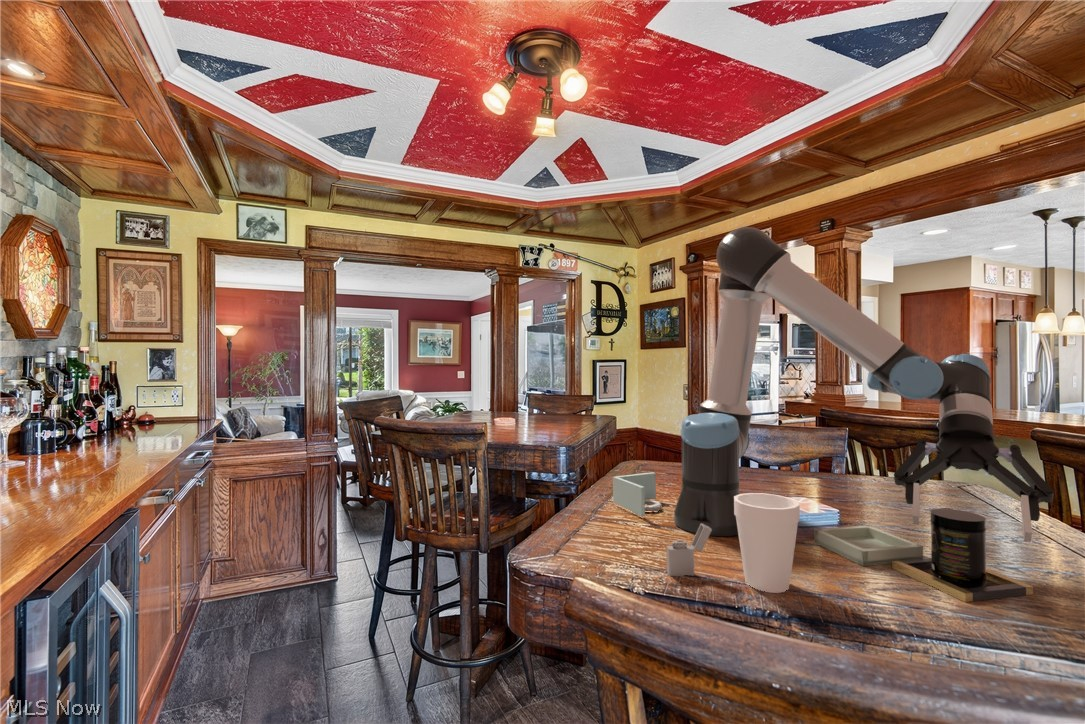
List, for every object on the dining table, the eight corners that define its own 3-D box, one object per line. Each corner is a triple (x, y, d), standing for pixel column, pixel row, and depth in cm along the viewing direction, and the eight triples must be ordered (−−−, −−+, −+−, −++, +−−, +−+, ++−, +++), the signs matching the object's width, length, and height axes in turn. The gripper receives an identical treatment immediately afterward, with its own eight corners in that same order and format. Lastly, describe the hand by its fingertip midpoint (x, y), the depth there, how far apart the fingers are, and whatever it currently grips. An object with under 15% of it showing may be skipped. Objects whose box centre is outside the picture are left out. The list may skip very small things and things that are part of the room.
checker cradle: (965, 602, 71) (965, 593, 71) (892, 568, 83) (892, 561, 83) (1032, 594, 73) (1032, 586, 73) (952, 562, 85) (952, 555, 85)
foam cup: (724, 572, 82) (723, 493, 82) (777, 569, 83) (776, 492, 83) (753, 599, 72) (752, 510, 73) (813, 596, 73) (812, 508, 73)
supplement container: (994, 594, 73) (993, 523, 73) (937, 585, 76) (936, 517, 76) (978, 576, 79) (977, 511, 80) (926, 569, 82) (925, 506, 83)
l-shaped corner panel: (641, 521, 111) (641, 487, 111) (613, 507, 122) (612, 476, 122) (684, 514, 116) (683, 482, 116) (653, 501, 127) (653, 472, 127)
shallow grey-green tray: (863, 566, 84) (862, 551, 84) (814, 542, 95) (814, 529, 95) (923, 560, 86) (922, 546, 86) (868, 538, 97) (868, 525, 97)
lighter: (669, 576, 81) (669, 526, 81) (666, 571, 82) (666, 523, 82) (712, 574, 81) (711, 526, 81) (708, 570, 83) (708, 522, 83)
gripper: (1061, 443, 85) (1080, 558, 73) (885, 432, 101) (877, 525, 89) (1065, 414, 81) (1086, 531, 69) (881, 408, 97) (873, 502, 85)
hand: (968, 528), depth 79 cm, fingers open, 13 cm apart
